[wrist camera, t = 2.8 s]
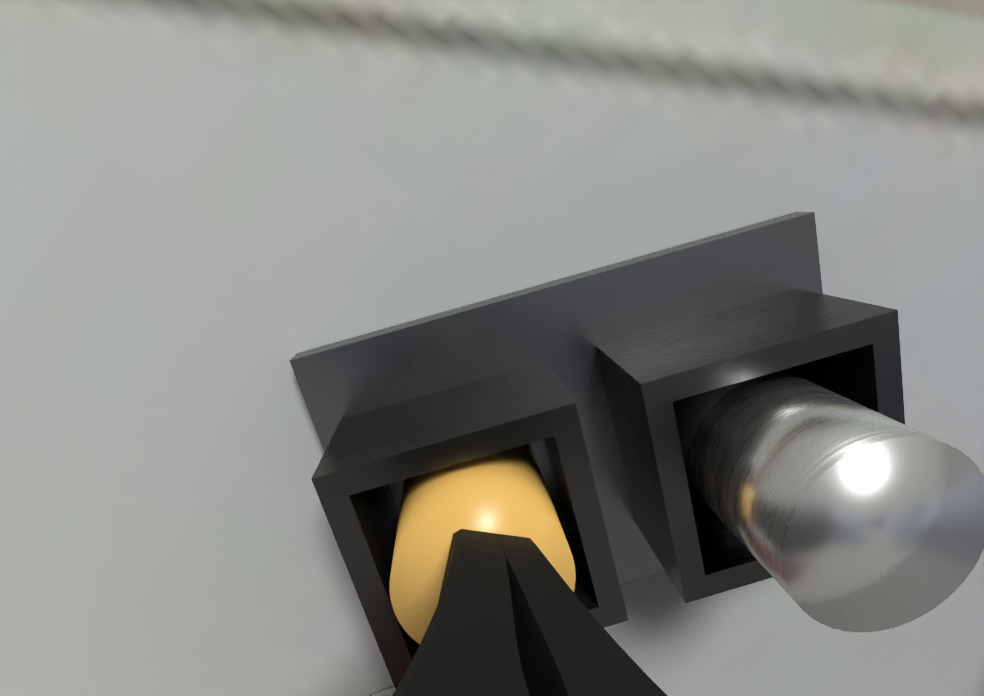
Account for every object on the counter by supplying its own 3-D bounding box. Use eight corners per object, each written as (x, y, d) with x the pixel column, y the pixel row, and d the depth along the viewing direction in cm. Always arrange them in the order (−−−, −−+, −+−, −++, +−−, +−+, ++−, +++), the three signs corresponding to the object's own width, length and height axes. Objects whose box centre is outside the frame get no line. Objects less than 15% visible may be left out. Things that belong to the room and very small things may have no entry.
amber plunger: (524, 411, 12) (551, 478, 9) (557, 534, 12) (593, 631, 10) (383, 452, 12) (363, 533, 9) (425, 573, 12) (421, 683, 10)
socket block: (796, 212, 12) (924, 211, 9) (829, 505, 14) (943, 591, 11) (296, 353, 12) (242, 405, 9) (403, 631, 14) (391, 757, 11)
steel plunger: (834, 355, 10) (989, 410, 7) (849, 497, 11) (993, 597, 8) (676, 401, 10) (770, 474, 7) (703, 540, 11) (796, 657, 8)
